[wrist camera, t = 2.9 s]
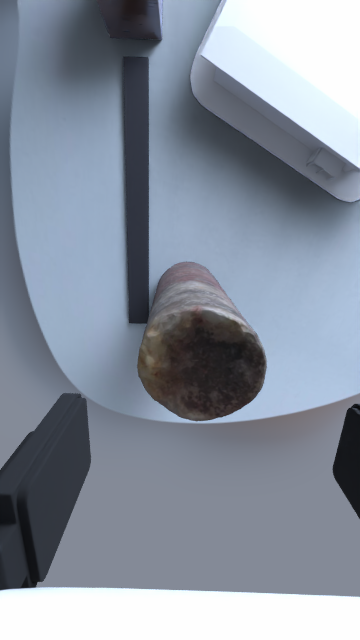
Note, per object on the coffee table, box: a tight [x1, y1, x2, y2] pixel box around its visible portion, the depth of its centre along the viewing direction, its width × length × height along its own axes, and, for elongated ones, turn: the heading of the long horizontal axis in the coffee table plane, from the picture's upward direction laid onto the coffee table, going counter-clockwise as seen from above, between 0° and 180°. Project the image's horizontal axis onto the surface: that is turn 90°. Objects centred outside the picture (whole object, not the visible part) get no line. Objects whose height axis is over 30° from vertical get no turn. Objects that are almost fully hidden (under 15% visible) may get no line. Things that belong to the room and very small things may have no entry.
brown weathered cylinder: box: [137, 262, 267, 421], centre depth 24 cm, size 8×7×20 cm
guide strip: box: [123, 57, 149, 324], centre depth 31 cm, size 2×27×1 cm, turn 178°
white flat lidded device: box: [190, 0, 360, 202], centre depth 25 cm, size 15×23×4 cm, turn 60°
